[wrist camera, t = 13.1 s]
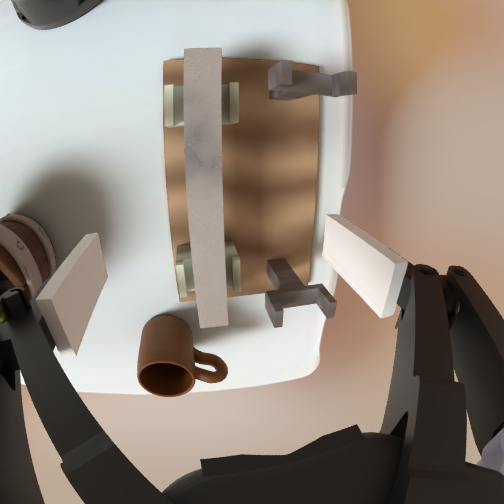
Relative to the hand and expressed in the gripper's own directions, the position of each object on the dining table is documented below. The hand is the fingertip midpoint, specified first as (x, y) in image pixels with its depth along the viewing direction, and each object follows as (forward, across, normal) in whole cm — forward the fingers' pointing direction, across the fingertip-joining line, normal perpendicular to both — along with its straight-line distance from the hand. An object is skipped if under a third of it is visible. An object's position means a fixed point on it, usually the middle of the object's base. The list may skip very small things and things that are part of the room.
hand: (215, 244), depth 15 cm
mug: (+19, -5, -22) cm, 29 cm away
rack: (+18, +5, 0) cm, 19 cm away
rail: (+14, 0, 0) cm, 14 cm away
